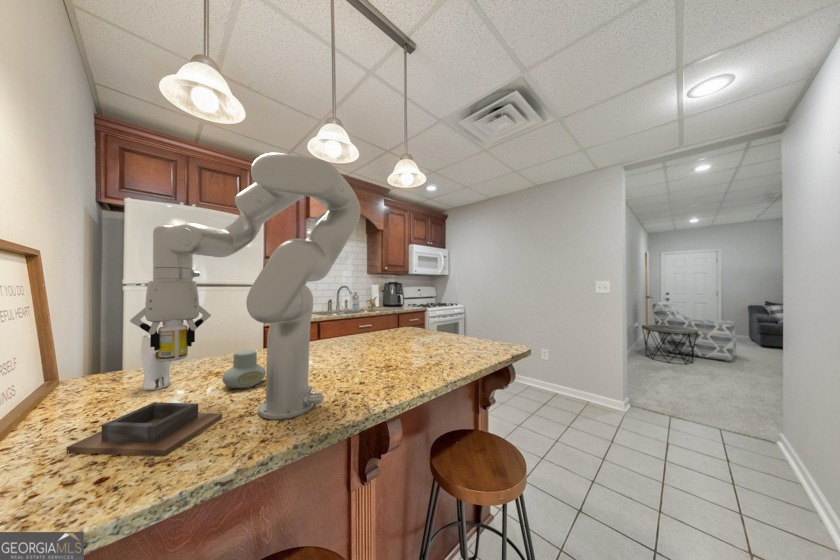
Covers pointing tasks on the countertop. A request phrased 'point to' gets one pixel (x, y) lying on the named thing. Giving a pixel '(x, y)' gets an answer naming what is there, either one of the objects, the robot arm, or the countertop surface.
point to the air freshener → (244, 370)
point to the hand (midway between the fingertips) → (173, 346)
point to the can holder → (148, 430)
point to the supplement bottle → (172, 341)
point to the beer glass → (153, 367)
